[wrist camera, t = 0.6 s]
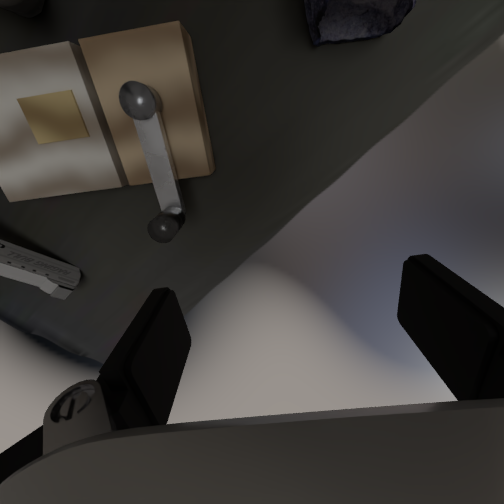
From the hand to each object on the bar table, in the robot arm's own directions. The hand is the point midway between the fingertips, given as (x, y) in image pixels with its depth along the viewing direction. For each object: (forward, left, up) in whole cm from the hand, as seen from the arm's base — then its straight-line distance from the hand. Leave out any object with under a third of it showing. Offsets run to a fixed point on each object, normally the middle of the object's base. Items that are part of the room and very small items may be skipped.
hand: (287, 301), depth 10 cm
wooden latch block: (-9, -20, -26) cm, 34 cm away
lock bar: (-4, -12, -22) cm, 25 cm away
